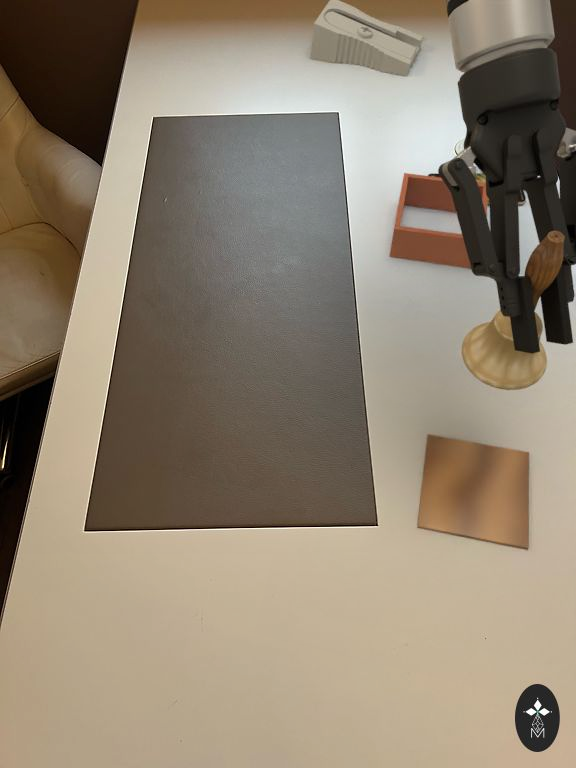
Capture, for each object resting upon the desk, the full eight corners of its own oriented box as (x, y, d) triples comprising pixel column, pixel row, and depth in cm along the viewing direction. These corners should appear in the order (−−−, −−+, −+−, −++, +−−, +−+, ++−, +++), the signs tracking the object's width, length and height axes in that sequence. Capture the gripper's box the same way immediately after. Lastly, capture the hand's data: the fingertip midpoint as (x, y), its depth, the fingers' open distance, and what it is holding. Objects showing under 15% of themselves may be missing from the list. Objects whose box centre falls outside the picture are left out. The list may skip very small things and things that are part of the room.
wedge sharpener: (327, 32, 131) (328, -4, 125) (421, 48, 127) (426, 12, 121) (310, 58, 125) (310, 22, 119) (407, 76, 121) (413, 40, 115)
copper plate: (528, 453, 75) (529, 452, 74) (527, 549, 68) (528, 548, 68) (427, 435, 76) (427, 433, 76) (417, 527, 70) (417, 526, 69)
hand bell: (528, 404, 59) (595, 288, 46) (447, 367, 61) (488, 246, 48) (557, 345, 63) (627, 222, 50) (480, 312, 65) (526, 186, 52)
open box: (480, 212, 99) (488, 183, 94) (476, 269, 92) (485, 241, 87) (399, 201, 100) (404, 172, 96) (389, 256, 93) (394, 228, 89)
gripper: (561, 61, 55) (592, 322, 59) (396, 92, 52) (443, 362, 57) (623, 27, 47) (653, 328, 52) (434, 62, 45) (484, 374, 50)
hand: (543, 346), depth 55 cm, fingers closed on hand bell, 2 cm apart
